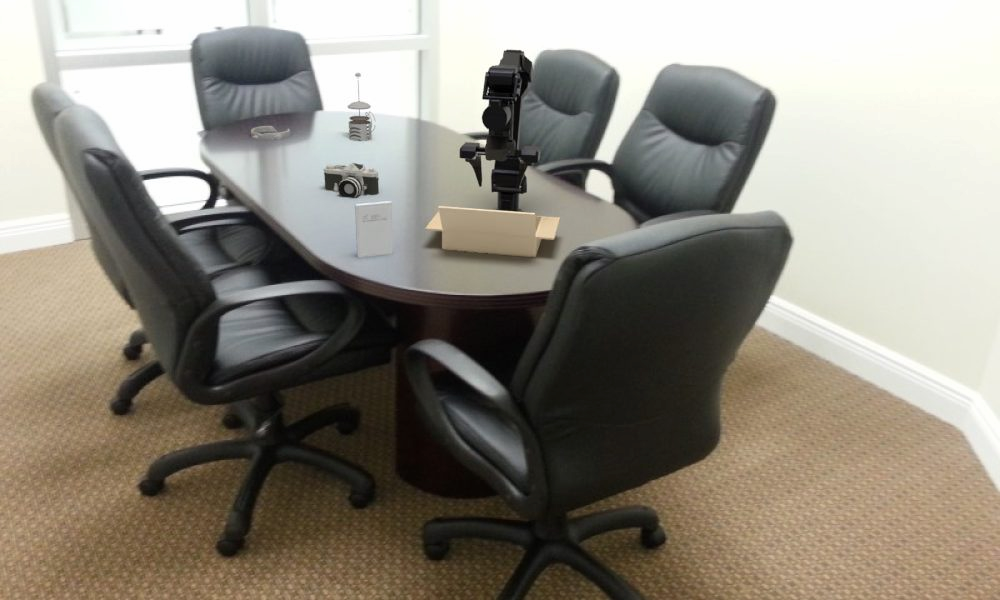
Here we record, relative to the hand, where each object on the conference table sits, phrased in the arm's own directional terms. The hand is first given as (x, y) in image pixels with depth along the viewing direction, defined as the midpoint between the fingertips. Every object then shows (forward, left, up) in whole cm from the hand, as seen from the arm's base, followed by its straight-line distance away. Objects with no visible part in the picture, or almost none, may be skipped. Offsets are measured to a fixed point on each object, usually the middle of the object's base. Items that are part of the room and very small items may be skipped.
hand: (499, 187), depth 196 cm
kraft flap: (+14, 0, -7) cm, 16 cm away
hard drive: (+21, -25, -12) cm, 35 cm away
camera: (-23, -46, -12) cm, 53 cm away
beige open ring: (-81, -94, -12) cm, 125 cm away
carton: (+6, 0, -12) cm, 13 cm away
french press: (-86, -62, -12) cm, 107 cm away
